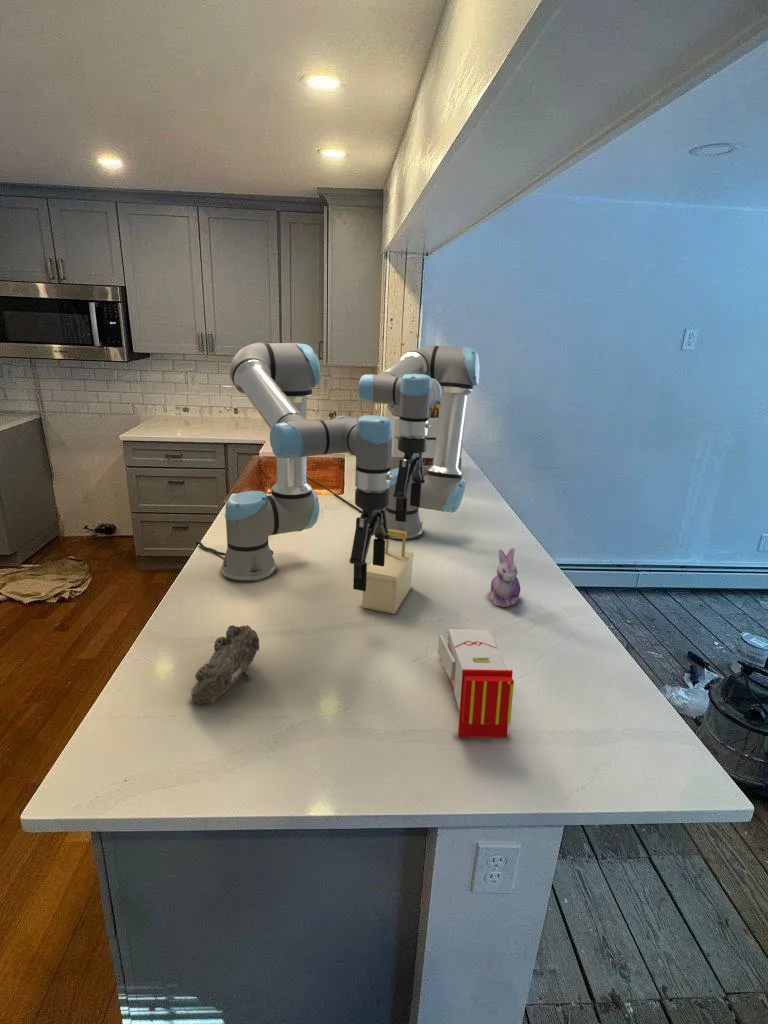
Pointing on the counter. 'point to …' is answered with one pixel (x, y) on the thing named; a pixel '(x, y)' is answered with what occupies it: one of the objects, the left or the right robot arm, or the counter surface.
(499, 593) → the figurine
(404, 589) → the chest
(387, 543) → the lid
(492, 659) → the white and red box
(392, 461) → the transformer
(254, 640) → the fossil
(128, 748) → the counter surface
